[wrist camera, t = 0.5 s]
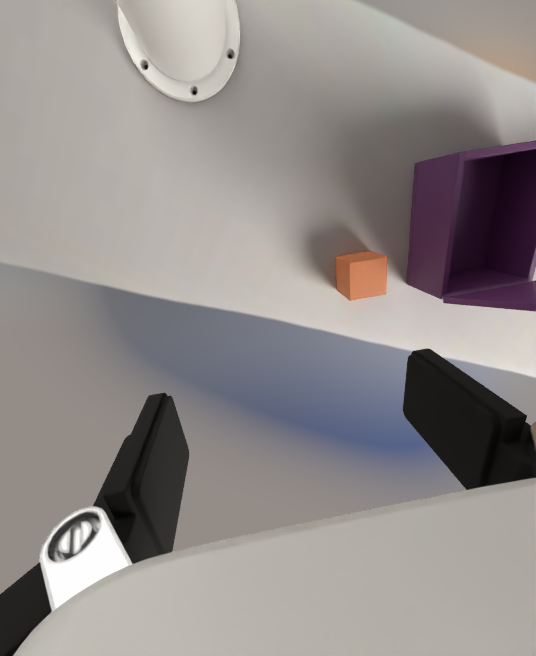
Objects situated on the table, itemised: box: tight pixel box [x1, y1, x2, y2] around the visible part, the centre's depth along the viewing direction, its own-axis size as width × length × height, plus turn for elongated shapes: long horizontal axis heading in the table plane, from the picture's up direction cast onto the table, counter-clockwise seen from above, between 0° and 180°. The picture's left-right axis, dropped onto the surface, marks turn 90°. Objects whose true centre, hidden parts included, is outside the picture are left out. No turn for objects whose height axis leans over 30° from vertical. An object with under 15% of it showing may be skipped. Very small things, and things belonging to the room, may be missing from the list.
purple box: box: [407, 141, 536, 299], centre depth 39 cm, size 18×14×8 cm
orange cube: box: [336, 251, 388, 301], centre depth 41 cm, size 6×6×6 cm
